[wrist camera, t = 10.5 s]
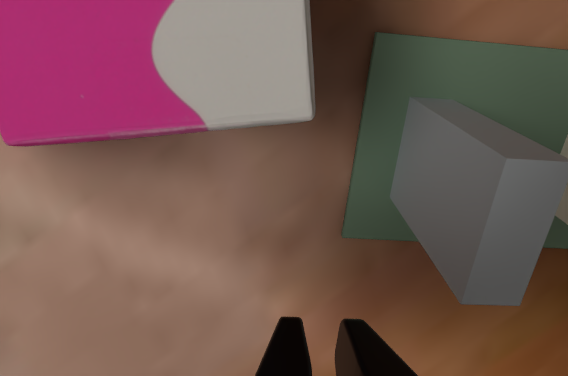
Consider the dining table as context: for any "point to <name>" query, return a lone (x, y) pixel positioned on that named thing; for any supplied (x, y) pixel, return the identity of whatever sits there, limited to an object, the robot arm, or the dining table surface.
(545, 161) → the slate domino
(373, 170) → the strip
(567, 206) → the domino
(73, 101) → the supplement box
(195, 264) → the dining table surface
